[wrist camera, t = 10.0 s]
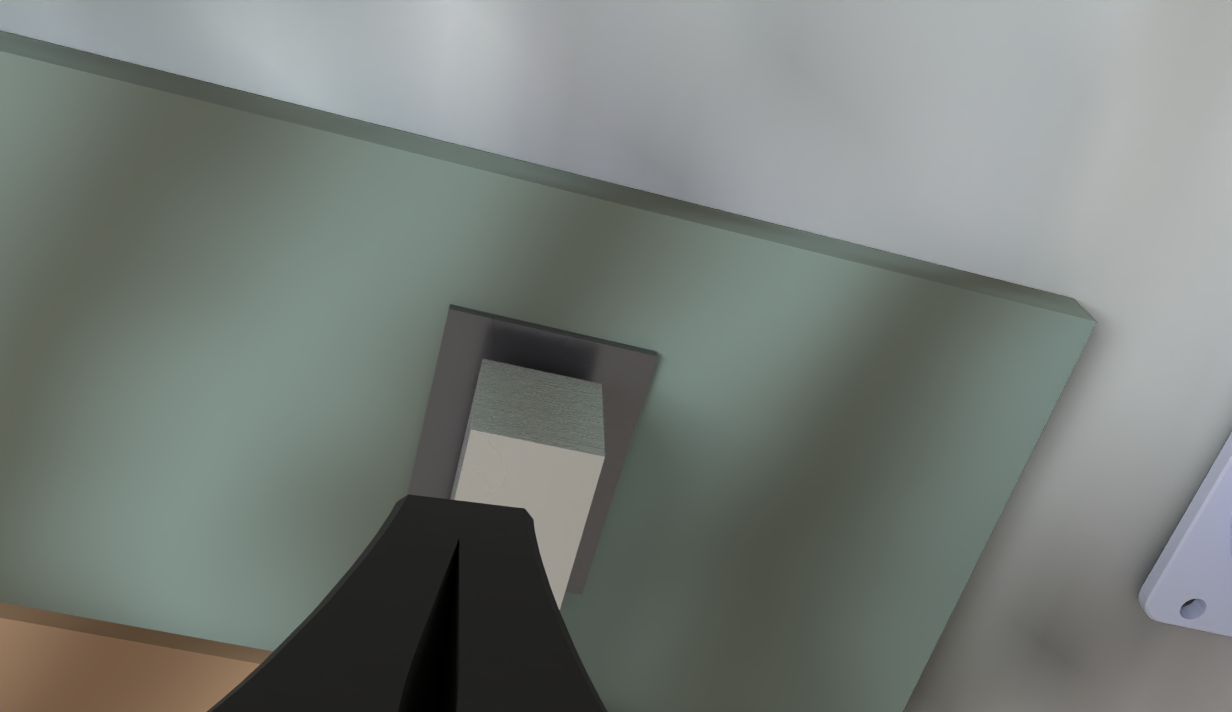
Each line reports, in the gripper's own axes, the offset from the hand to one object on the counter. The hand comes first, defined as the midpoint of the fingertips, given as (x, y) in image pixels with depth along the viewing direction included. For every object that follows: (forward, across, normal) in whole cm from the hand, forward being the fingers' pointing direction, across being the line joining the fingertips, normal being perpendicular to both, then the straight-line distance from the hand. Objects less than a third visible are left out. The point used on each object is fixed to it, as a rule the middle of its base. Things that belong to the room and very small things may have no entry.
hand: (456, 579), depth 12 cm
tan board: (+9, 0, +9) cm, 13 cm away
